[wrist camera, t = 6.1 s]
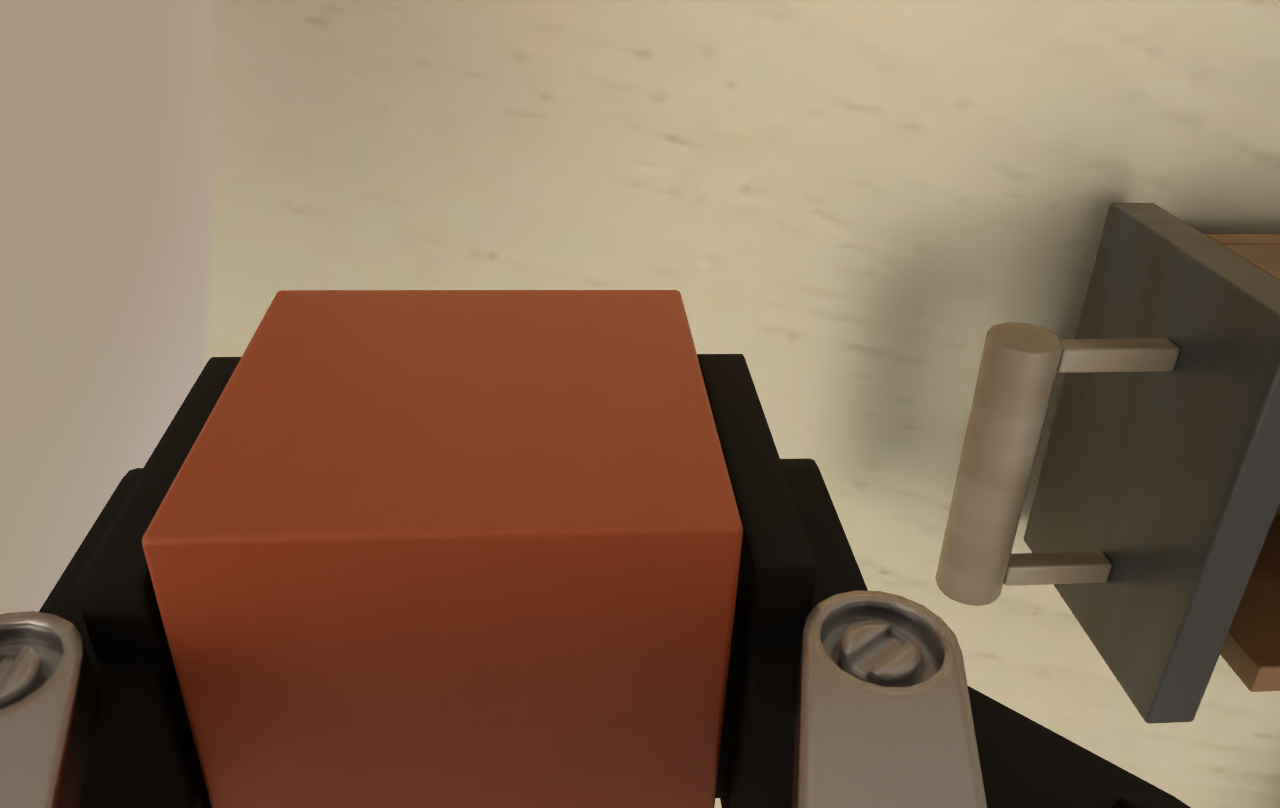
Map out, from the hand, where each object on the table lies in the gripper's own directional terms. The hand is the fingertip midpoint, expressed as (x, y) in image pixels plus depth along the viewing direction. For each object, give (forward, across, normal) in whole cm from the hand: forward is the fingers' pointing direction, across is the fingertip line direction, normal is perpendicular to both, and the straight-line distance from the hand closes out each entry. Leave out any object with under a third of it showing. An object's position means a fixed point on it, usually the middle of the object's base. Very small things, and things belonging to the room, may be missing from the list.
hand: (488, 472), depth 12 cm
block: (0, 0, 0) cm, 0 cm away
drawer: (+14, -19, +6) cm, 24 cm away
